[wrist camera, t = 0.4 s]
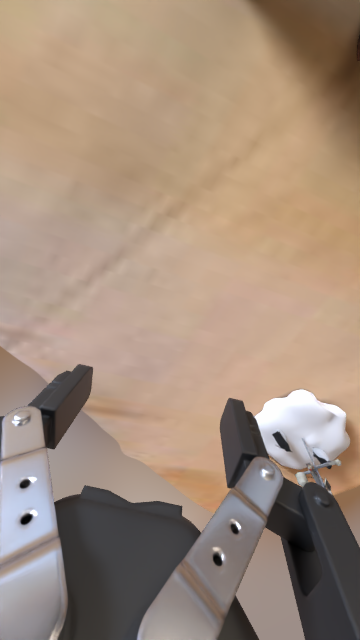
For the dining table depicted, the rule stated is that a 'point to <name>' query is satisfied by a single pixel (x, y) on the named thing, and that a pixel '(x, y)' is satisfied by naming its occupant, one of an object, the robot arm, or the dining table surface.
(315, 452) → the figurine
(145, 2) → the dining table surface
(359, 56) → the brown clay hollow piece
